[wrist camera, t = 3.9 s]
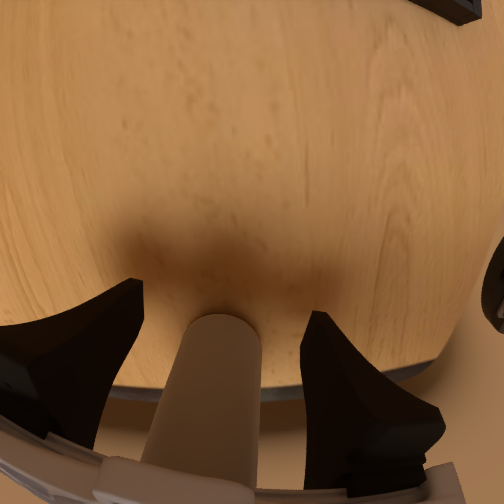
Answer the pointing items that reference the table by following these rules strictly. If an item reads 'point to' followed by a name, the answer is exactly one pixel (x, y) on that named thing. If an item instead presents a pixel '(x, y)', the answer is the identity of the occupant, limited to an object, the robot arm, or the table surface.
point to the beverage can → (211, 403)
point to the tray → (454, 9)
